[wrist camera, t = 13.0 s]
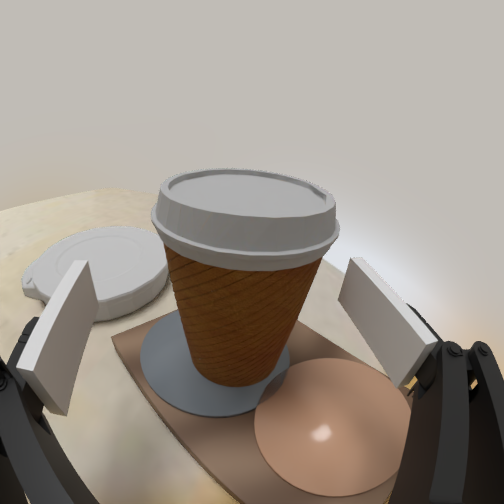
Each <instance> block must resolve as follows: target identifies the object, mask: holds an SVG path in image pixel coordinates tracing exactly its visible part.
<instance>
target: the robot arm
mask: <svg viewBox="0 0 504 504" xmlns="http://www.w3.org/2000/svg"><path fill="white" fill-rule="evenodd" d="M338 301H339V302H340V304H341V305H342V306H343V308H344V309H345V311H346V312H347V314H348V315H349V317H350V318H351V320H352V321H353V323H354V324H355V326H356V327H357V329H358V330H359V332H360V333H361V335H362V336H363V338H364V339H365V341H366V342H367V344H368V345H369V347H370V348H371V350H372V351H373V353H374V355H375V356H376V358H377V359H378V361H379V362H380V364H381V365H382V367H383V369H384V370H385V372H386V373H387V375H388V377H389V378H390V380H391V381H392V383H393V385H394V386H395V388H396V389H397V388H400V387H402V386H405V385H408V384H409V383H410V381H411V380H412V379H413V377H414V376H416V378H417V379H418V380H417V382H416V383H415V384H414V385H413V387H412V388H411V389H410V391H409V392H408V394H407V396H409V395H410V394H411V393H412V392H413V391H414V394H413V396H412V398H413V402H412V409H411V415H410V421H409V427H408V432H407V437H406V442H405V447H404V451H403V455H402V459H401V463H400V467H399V471H398V474H397V478H396V481H395V484H394V487H393V491H392V494H391V497H390V500H389V502H388V504H504V380H503V377H502V374H501V372H500V369H499V367H498V364H497V362H496V360H495V357H494V355H493V353H492V351H491V349H490V347H489V346H488V345H487V344H485V343H483V342H481V341H476V342H475V343H474V344H473V346H472V347H471V349H469V350H463V349H462V348H461V347H460V346H459V345H458V344H456V343H454V342H451V341H446V342H444V341H443V340H442V339H441V338H440V337H439V336H438V334H437V333H436V332H435V331H434V330H433V329H432V327H431V326H430V325H429V324H428V323H426V321H425V319H424V318H423V317H421V315H420V314H419V313H418V312H417V311H416V309H414V308H413V307H411V306H410V305H408V304H407V303H405V302H404V301H403V300H402V299H401V298H400V297H399V296H398V295H397V293H396V292H395V291H394V290H393V289H392V288H391V287H390V286H389V285H388V284H387V283H386V282H385V281H384V280H383V279H382V277H381V276H380V275H379V274H378V273H377V272H376V271H375V270H374V269H373V268H372V267H371V266H370V265H369V264H368V263H367V262H366V261H365V260H364V259H363V258H362V257H361V258H350V261H349V264H348V268H347V271H346V275H345V278H344V281H343V285H342V288H341V291H340V294H339V297H338ZM98 309H99V303H98V300H97V296H96V292H95V288H94V284H93V280H92V276H91V272H90V267H89V263H88V260H74V262H73V263H72V265H71V266H70V268H69V269H68V271H67V273H66V274H65V276H64V277H63V279H62V280H61V282H60V284H59V285H58V287H57V288H56V290H55V292H54V293H53V295H52V297H51V298H50V300H49V302H48V304H47V305H46V307H45V309H44V311H43V313H42V314H41V316H40V317H34V318H33V319H32V320H31V321H30V322H28V323H27V324H26V326H25V328H24V330H23V332H22V335H21V336H20V338H19V340H18V343H17V344H16V346H15V348H14V350H13V352H12V354H11V356H10V358H9V360H8V363H7V365H6V364H5V363H4V361H3V360H2V358H1V357H0V504H28V502H27V499H26V496H25V494H26V495H27V497H28V499H29V501H30V503H31V504H99V503H98V501H97V500H96V499H95V497H94V496H93V495H92V493H91V492H90V491H89V489H88V488H87V487H86V485H85V484H84V482H83V481H82V480H81V478H80V477H79V475H78V474H77V472H76V471H75V469H74V468H73V466H72V464H71V463H70V461H69V460H68V458H67V456H66V455H65V453H64V451H63V449H62V448H61V446H60V444H59V442H58V441H57V439H56V437H55V435H54V433H53V431H52V429H51V427H50V425H49V423H48V421H47V419H46V417H45V415H44V414H43V413H42V410H43V406H45V407H46V408H47V409H48V410H49V412H50V413H53V414H57V415H62V416H67V413H68V408H69V404H70V399H71V395H72V391H73V387H74V383H75V380H76V376H77V372H78V369H79V365H80V362H81V359H82V355H83V352H84V349H85V346H86V343H87V340H88V337H89V334H90V331H91V328H92V325H93V322H94V320H95V317H96V314H97V311H98ZM476 379H477V382H478V384H477V385H476V386H475V387H474V389H472V388H471V386H470V385H471V384H472V383H473V382H474V381H475V380H476ZM24 492H25V493H24Z"/></svg>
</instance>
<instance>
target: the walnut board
mask: <svg viewBox="0 0 504 504" xmlns="http://www.w3.org/2000/svg"><path fill="white" fill-rule="evenodd" d="M177 310H179V309H177ZM177 310H175V311H177ZM173 312H174V311H173ZM170 313H172V312H170ZM170 313H168V314H170ZM168 314H165V315H163V316H161V317H158V318H156V319H153V320H151V321H149V322H146V323H144V324H141V325H139V326H136V327H134V328H132V329H129V330H127V331H124V332H122V333H119V334H117V335H114V336H112V337H111V338H112V341H113V344H114V347H115V350H116V351H117V353H118V355H119V357H120V358H121V360H122V362H123V363H124V365H125V367H126V368H127V370H128V371H129V373H130V375H131V376H132V378H133V379H134V381H135V382H136V384H137V385H138V387H139V388H140V390H141V391H142V393H143V394H144V396H145V397H146V399H147V400H148V401H149V403H150V404H151V406H152V407H153V408H154V410H155V411H156V413H157V414H158V415H159V417H160V418H161V419H162V420H163V422H164V423H165V424H166V426H167V427H168V428H169V429H170V431H171V432H172V433H173V434H174V436H175V437H176V438H177V439H178V440H179V442H180V443H181V444H182V445H183V446H184V448H185V449H186V450H187V451H188V452H189V453H190V454H191V455H192V457H193V458H194V459H195V460H196V461H197V462H198V463H199V464H200V465H201V466H202V467H203V468H204V469H205V471H206V472H207V473H208V474H209V475H210V476H211V477H212V478H213V479H214V480H215V481H216V482H217V483H218V484H219V485H221V486H222V487H223V488H224V489H225V490H226V491H227V492H228V493H229V494H230V495H231V496H232V497H233V498H235V499H236V500H237V501H238V502H239V503H240V504H383V503H384V502H385V500H386V499H387V497H388V496H389V494H390V493H391V491H392V490H393V487H394V484H395V481H396V478H397V474H398V471H399V469H398V470H397V471H396V472H395V474H394V475H392V476H391V477H390V478H389V479H387V480H386V481H385V482H383V483H382V484H380V485H378V486H377V487H375V488H373V489H370V490H368V491H366V492H363V493H360V494H356V495H352V496H345V497H324V496H318V495H313V494H310V493H307V492H304V491H301V490H299V489H297V488H295V487H293V486H291V485H290V484H288V483H287V482H285V481H284V480H282V479H281V478H280V477H279V476H278V475H277V474H276V473H274V472H273V470H272V469H271V468H270V467H269V466H268V464H267V463H266V462H265V460H264V458H263V457H262V455H261V453H260V451H259V448H258V446H257V443H256V438H255V434H254V417H255V411H256V409H255V410H253V411H251V412H248V413H245V414H242V415H238V416H233V417H226V418H208V417H201V416H195V415H192V414H188V413H185V412H182V411H180V410H178V409H176V408H174V407H172V406H171V405H169V404H168V403H166V402H165V401H163V400H162V399H161V398H160V397H159V396H158V395H156V393H155V392H154V391H153V390H152V389H151V387H150V386H149V384H148V382H147V381H146V379H145V376H144V374H143V371H142V367H141V362H140V352H141V346H142V343H143V340H144V338H145V336H146V334H147V333H148V331H149V330H150V329H151V328H152V327H153V326H154V325H155V323H157V322H158V321H159V320H160V319H162V318H163V317H165V316H166V315H168ZM286 345H287V347H288V351H289V356H290V364H289V367H291V366H293V365H295V364H298V363H301V362H304V361H308V360H313V359H320V358H337V359H345V360H350V361H354V362H357V363H360V364H363V365H366V366H368V367H370V368H372V369H374V368H373V367H371V366H369V365H368V364H366V363H364V362H363V361H361V360H360V359H358V358H356V357H355V356H353V355H351V354H350V353H348V352H347V351H345V350H343V349H342V348H340V347H339V346H337V345H335V344H334V343H332V342H331V341H329V340H328V339H326V338H324V337H323V336H321V335H320V334H318V333H317V332H315V331H313V330H312V329H310V328H309V327H307V326H306V325H304V324H303V323H301V322H300V321H298V320H297V321H296V323H295V325H294V328H293V330H292V332H291V334H290V336H289V338H288V340H287V342H286ZM374 370H376V369H374ZM376 371H378V370H376ZM378 372H379V371H378ZM379 373H381V372H379ZM381 374H382V373H381ZM382 375H384V374H382ZM384 376H385V377H386V378H388V379H389V380H390V378H389V377H387V376H386V375H384ZM390 381H391V380H390ZM391 382H392V381H391ZM398 389H399V390H400V392H401V393H402V394H403V396H404V398H405V399H406V401H407V403H408V405H409V407H410V410H411V409H412V402H413V398H412V396H413V394H414V392H412V393H411V394H410V395H409V396H407V394H408V392H409V391H410V390H409V389H408V388H406V387H404V386H402V387H400V388H398Z"/></svg>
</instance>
